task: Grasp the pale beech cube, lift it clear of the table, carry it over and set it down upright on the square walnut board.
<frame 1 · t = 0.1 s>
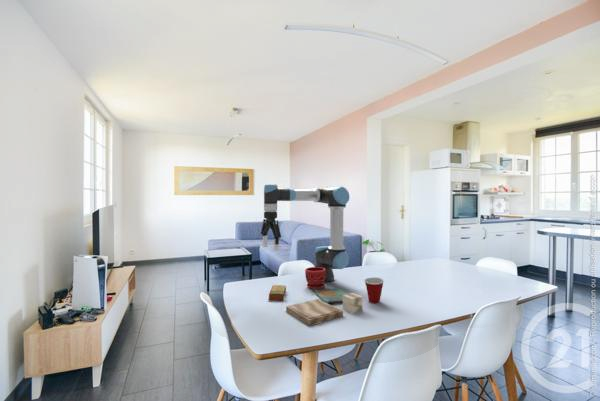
hand: (270, 248, 167), 28 cm above the table, fingers open, 13 cm apart
board: (314, 313, 144), on the table
cube: (352, 309, 150), on the table
teal book: (333, 298, 169), on the table
carton: (277, 296, 170), on the table
plant pot: (315, 287, 187), on the table
plastic cup: (373, 301, 162), on the table
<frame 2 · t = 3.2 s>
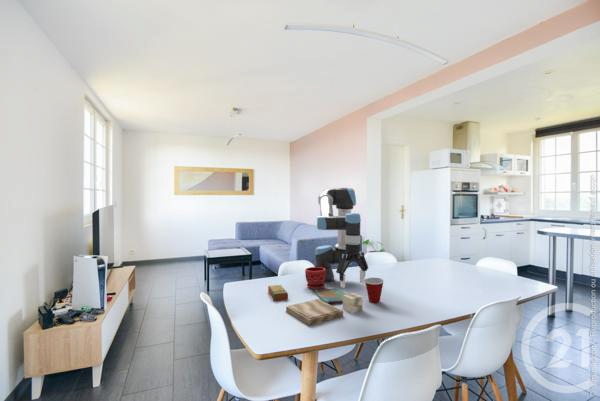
hand: (352, 285, 150), 12 cm above the table, fingers open, 13 cm apart
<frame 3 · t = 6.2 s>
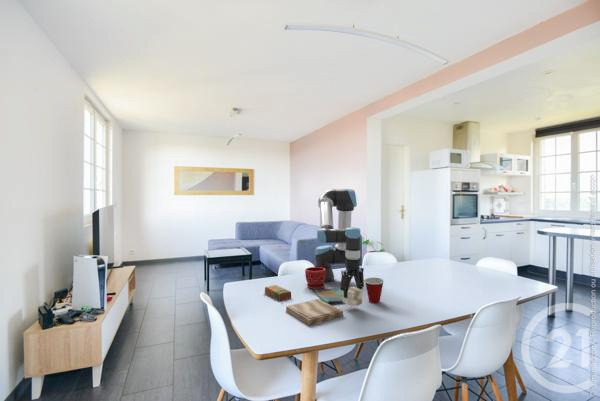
hand: (352, 302, 150), 3 cm above the table, fingers closed on cube, 7 cm apart
cube: (352, 303, 151), point 3 cm above the table, touching gripper
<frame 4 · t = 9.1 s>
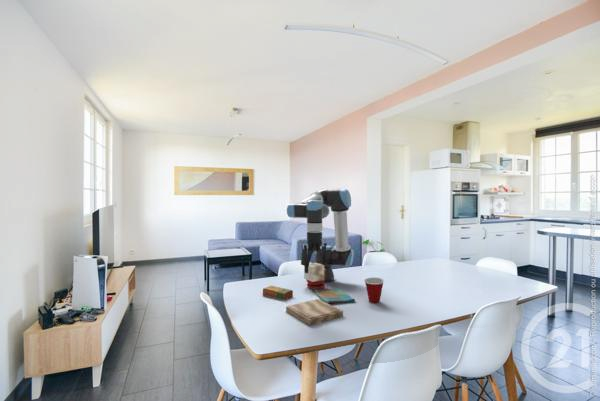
hand: (314, 278, 144), 17 cm above the table, fingers closed on cube, 7 cm apart
cube: (314, 279, 144), point 17 cm above the table, touching gripper
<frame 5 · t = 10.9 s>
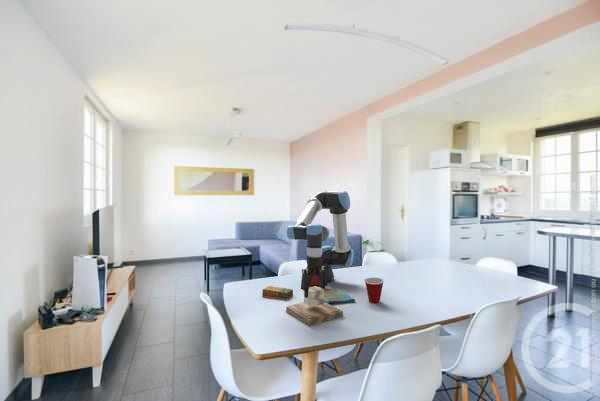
hand: (314, 302, 144), 6 cm above the table, fingers closed on cube, 7 cm apart
cube: (313, 303, 144), point 5 cm above the table, touching gripper
when the fingers open (3 cm above the table, at t = 12.2 s): cube stays where it is, resting on board.
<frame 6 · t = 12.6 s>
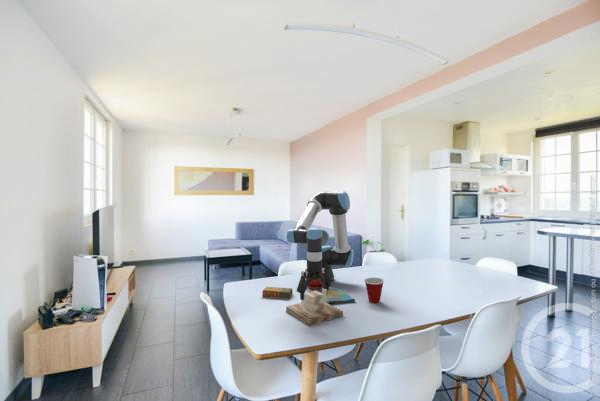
hand: (314, 303, 144), 5 cm above the table, fingers open, 12 cm apart
cube: (314, 307, 144), point 3 cm above the table, touching board
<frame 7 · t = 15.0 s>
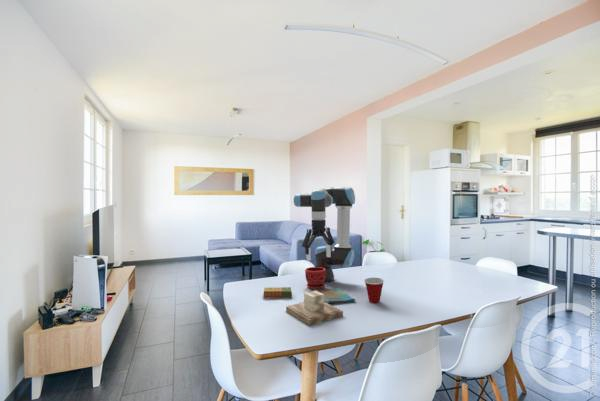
hand: (318, 258, 158), 24 cm above the table, fingers open, 13 cm apart
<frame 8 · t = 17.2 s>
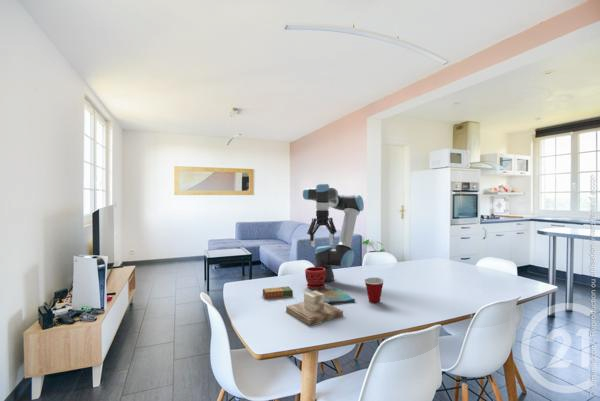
hand: (322, 245, 174), 29 cm above the table, fingers open, 13 cm apart
at the end: cube inside the target area on the board (0.1 cm from its centre), point 2.8 cm above the board's base; cube tilted 0°; the gripper is holding nothing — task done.
